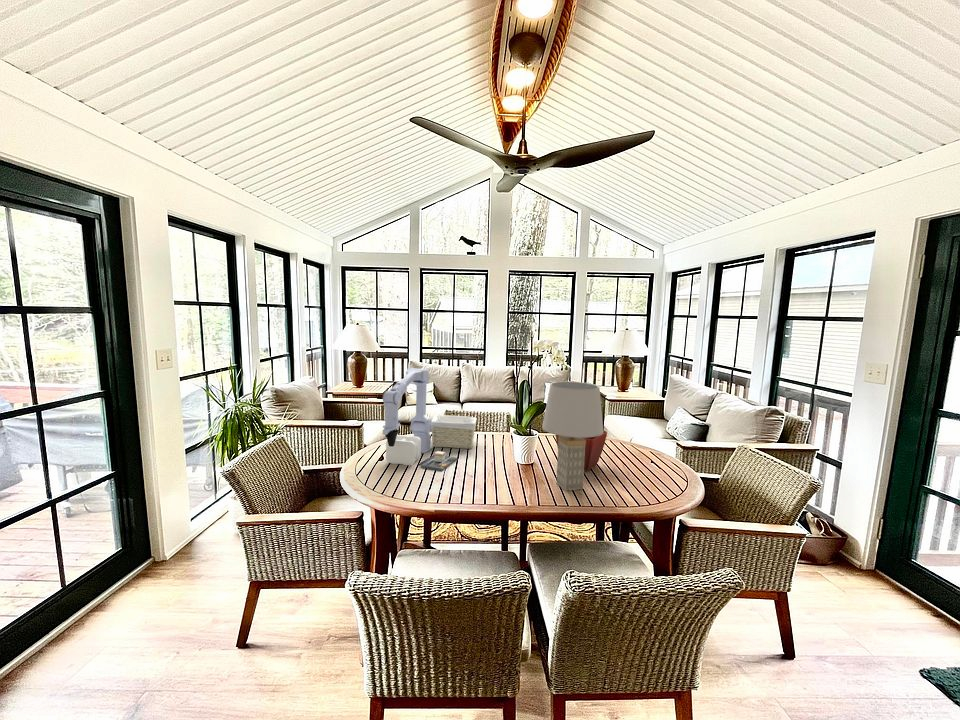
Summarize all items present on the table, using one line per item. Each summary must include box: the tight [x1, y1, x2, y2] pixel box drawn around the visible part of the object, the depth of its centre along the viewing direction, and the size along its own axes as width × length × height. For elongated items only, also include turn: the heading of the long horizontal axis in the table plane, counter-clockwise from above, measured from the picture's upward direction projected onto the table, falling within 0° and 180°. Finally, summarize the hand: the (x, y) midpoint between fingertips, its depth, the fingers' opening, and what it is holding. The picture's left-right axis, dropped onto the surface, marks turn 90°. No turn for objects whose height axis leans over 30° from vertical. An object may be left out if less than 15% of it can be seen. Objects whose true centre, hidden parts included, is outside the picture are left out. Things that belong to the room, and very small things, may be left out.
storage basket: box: [431, 414, 478, 450], centre depth 238 cm, size 24×16×15 cm
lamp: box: [541, 381, 604, 492], centre depth 182 cm, size 25×25×44 cm
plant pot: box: [555, 430, 608, 472], centre depth 211 cm, size 19×19×17 cm
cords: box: [417, 454, 434, 467], centre depth 211 cm, size 15×2×1 cm, turn 159°
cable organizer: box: [385, 434, 422, 466], centre depth 209 cm, size 15×11×12 cm
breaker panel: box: [420, 455, 458, 472], centre depth 208 cm, size 17×11×2 cm, turn 159°
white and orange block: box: [433, 450, 446, 462], centre depth 207 cm, size 3×4×4 cm
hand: (391, 446), depth 199 cm, fingers closed
